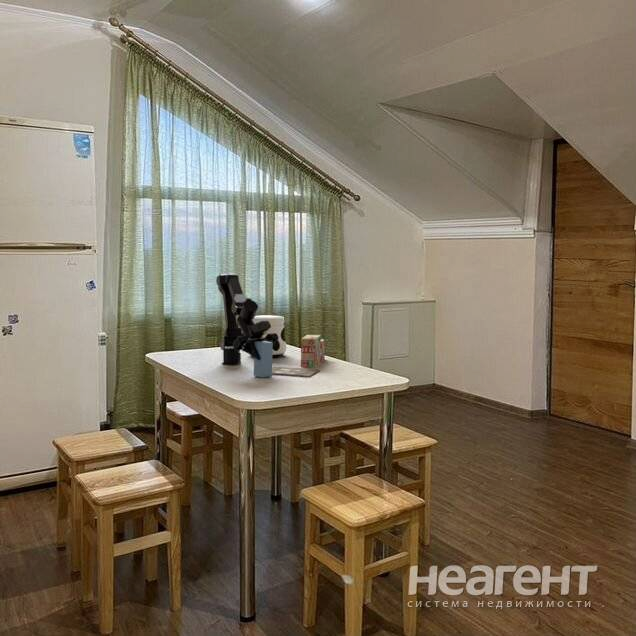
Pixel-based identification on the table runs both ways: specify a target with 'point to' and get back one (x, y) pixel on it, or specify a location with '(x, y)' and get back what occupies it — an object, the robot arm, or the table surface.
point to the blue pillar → (263, 359)
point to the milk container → (277, 328)
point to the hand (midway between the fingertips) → (265, 358)
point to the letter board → (293, 371)
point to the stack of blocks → (312, 350)
